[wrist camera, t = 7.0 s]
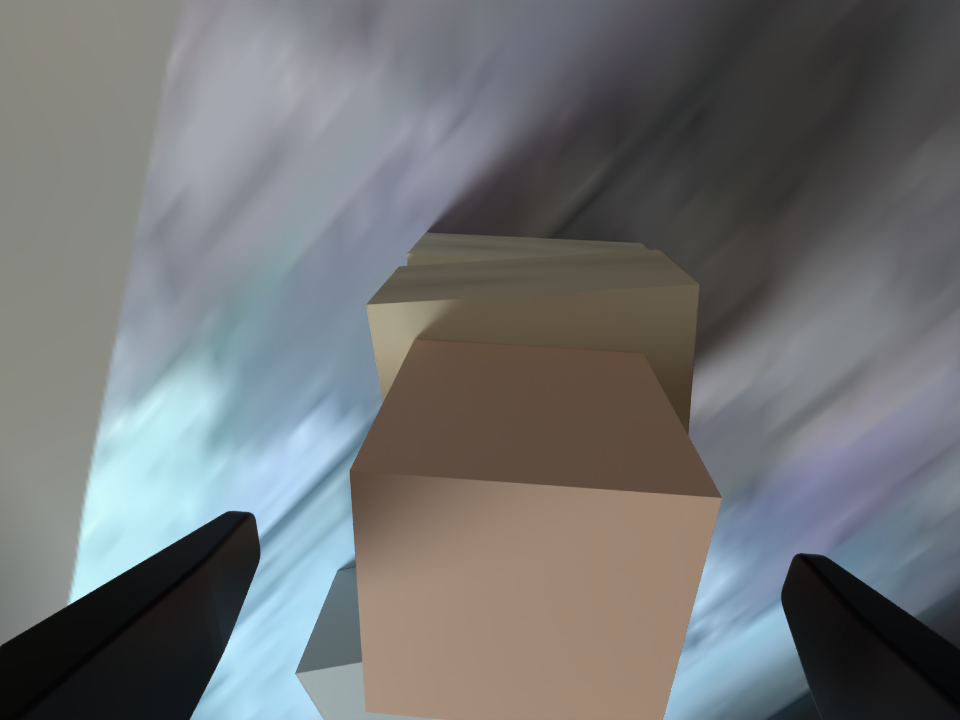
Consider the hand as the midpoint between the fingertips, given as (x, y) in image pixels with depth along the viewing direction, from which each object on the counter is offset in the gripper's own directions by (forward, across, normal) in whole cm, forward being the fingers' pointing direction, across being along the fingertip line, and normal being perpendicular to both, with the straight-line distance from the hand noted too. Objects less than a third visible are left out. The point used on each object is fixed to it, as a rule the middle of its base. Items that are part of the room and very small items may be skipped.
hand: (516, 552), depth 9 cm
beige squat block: (+8, 0, 0) cm, 8 cm away
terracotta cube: (+4, 0, 0) cm, 4 cm away
